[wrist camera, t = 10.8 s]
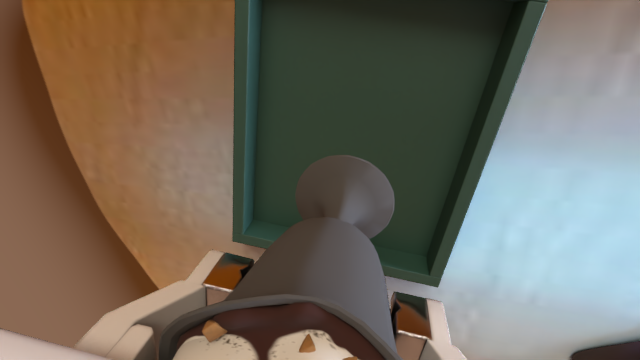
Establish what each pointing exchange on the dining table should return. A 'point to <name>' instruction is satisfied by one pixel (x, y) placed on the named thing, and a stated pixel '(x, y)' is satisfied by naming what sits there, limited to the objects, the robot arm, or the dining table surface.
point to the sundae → (306, 281)
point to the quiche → (611, 352)
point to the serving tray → (374, 110)
